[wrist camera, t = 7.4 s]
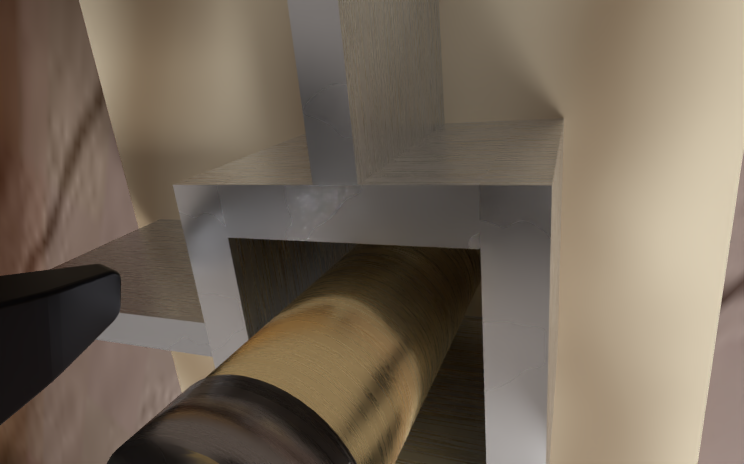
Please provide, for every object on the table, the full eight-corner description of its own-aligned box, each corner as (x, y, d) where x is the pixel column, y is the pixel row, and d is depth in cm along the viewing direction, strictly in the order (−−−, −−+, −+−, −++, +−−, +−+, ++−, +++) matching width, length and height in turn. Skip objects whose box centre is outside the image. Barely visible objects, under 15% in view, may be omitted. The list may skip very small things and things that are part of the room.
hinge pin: (492, 191, 13) (304, 474, 5) (494, 298, 14) (341, 691, 6) (382, 189, 15) (74, 414, 6) (391, 288, 16) (137, 602, 7)
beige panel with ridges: (797, -389, 9) (1298, -1348, 3) (681, 472, 16) (751, 777, 10) (79, -154, 16) (-270, -280, 9) (209, 388, 23) (58, 535, 16)
